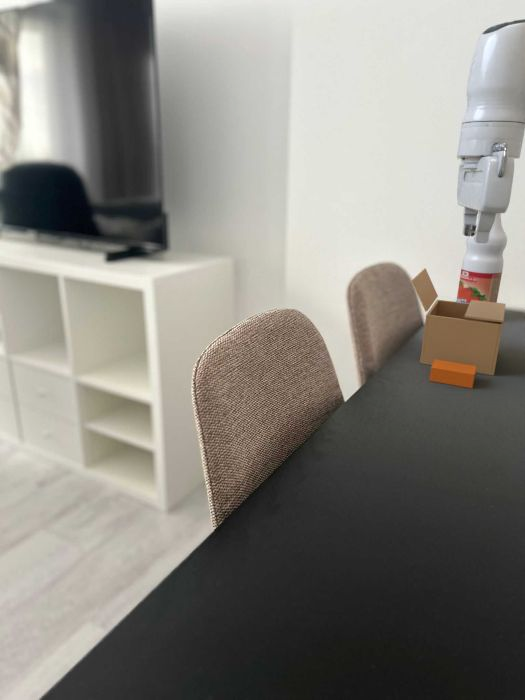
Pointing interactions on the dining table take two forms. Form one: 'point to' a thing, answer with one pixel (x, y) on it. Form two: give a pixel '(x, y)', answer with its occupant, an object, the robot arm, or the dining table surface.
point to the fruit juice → (483, 266)
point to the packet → (453, 373)
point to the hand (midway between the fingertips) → (474, 239)
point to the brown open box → (463, 334)
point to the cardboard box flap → (425, 289)
